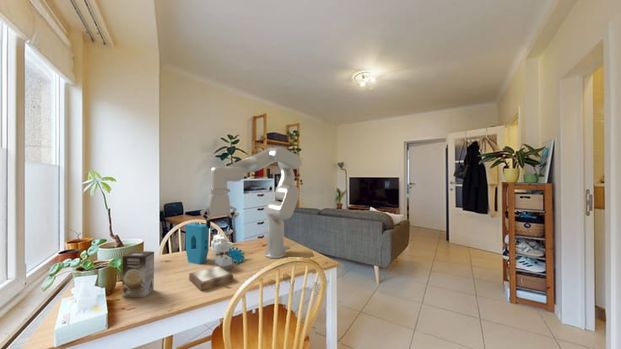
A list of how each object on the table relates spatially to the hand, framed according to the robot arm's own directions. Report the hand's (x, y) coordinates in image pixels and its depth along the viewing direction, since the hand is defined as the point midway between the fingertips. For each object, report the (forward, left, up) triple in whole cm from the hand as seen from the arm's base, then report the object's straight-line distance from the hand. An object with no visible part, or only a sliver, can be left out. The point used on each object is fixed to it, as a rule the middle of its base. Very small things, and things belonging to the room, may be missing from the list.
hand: (219, 226), depth 125 cm
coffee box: (+34, +1, -22) cm, 40 cm away
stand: (+8, +9, -22) cm, 25 cm away
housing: (-2, 0, -22) cm, 22 cm away
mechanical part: (-12, -23, -22) cm, 34 cm away
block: (+4, -19, -22) cm, 29 cm away
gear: (-12, -5, -22) cm, 26 cm away
